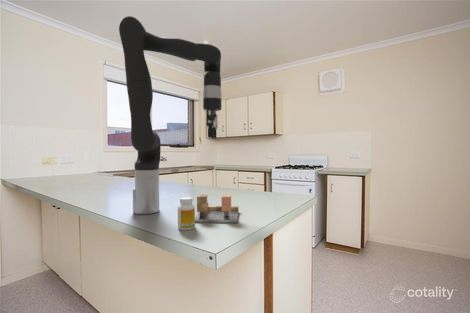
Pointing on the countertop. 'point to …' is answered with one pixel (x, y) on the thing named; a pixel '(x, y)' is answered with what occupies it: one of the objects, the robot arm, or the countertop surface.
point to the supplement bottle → (186, 214)
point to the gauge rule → (203, 206)
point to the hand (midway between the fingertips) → (212, 137)
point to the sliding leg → (226, 204)
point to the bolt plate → (217, 217)
